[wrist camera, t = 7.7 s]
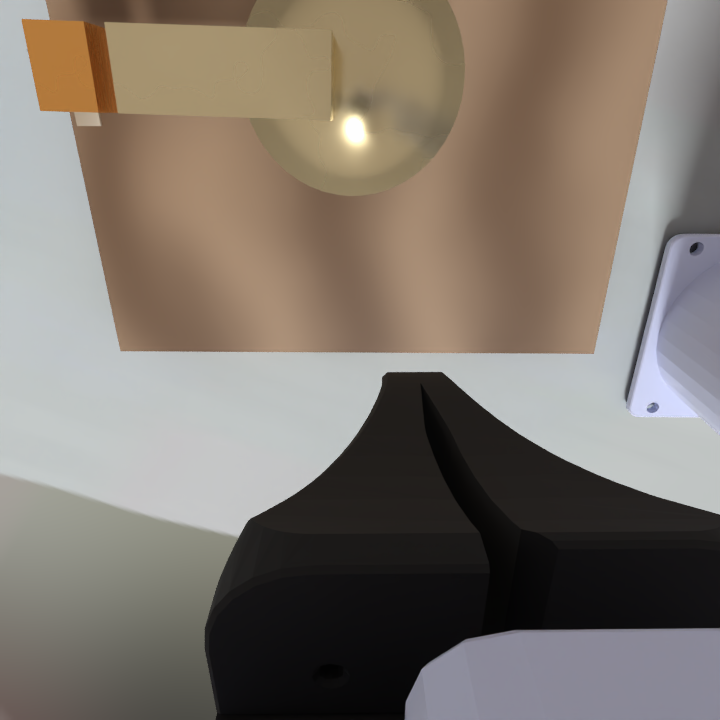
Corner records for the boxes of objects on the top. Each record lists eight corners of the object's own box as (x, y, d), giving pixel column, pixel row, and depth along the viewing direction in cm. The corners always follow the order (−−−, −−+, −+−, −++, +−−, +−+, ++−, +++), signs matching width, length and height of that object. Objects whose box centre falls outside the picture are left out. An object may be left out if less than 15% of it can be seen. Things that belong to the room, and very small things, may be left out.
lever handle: (469, -43, 14) (487, -70, 12) (446, 193, 16) (457, 205, 14) (53, -57, 14) (-1, -86, 12) (94, 182, 16) (57, 191, 14)
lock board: (705, -308, 14) (802, -429, 11) (579, 339, 22) (615, 376, 19) (9, -301, 14) (-92, -418, 11) (135, 336, 23) (97, 373, 19)
